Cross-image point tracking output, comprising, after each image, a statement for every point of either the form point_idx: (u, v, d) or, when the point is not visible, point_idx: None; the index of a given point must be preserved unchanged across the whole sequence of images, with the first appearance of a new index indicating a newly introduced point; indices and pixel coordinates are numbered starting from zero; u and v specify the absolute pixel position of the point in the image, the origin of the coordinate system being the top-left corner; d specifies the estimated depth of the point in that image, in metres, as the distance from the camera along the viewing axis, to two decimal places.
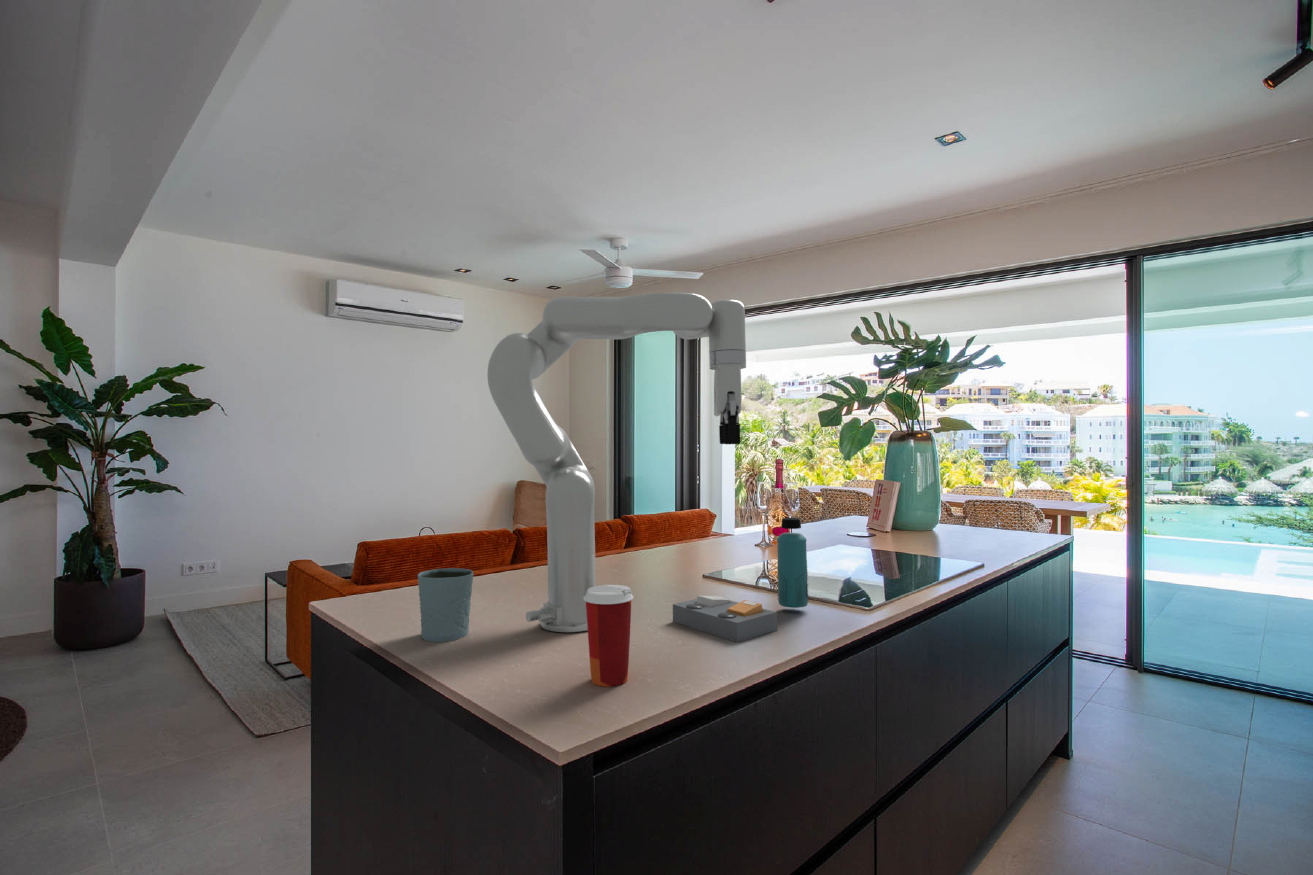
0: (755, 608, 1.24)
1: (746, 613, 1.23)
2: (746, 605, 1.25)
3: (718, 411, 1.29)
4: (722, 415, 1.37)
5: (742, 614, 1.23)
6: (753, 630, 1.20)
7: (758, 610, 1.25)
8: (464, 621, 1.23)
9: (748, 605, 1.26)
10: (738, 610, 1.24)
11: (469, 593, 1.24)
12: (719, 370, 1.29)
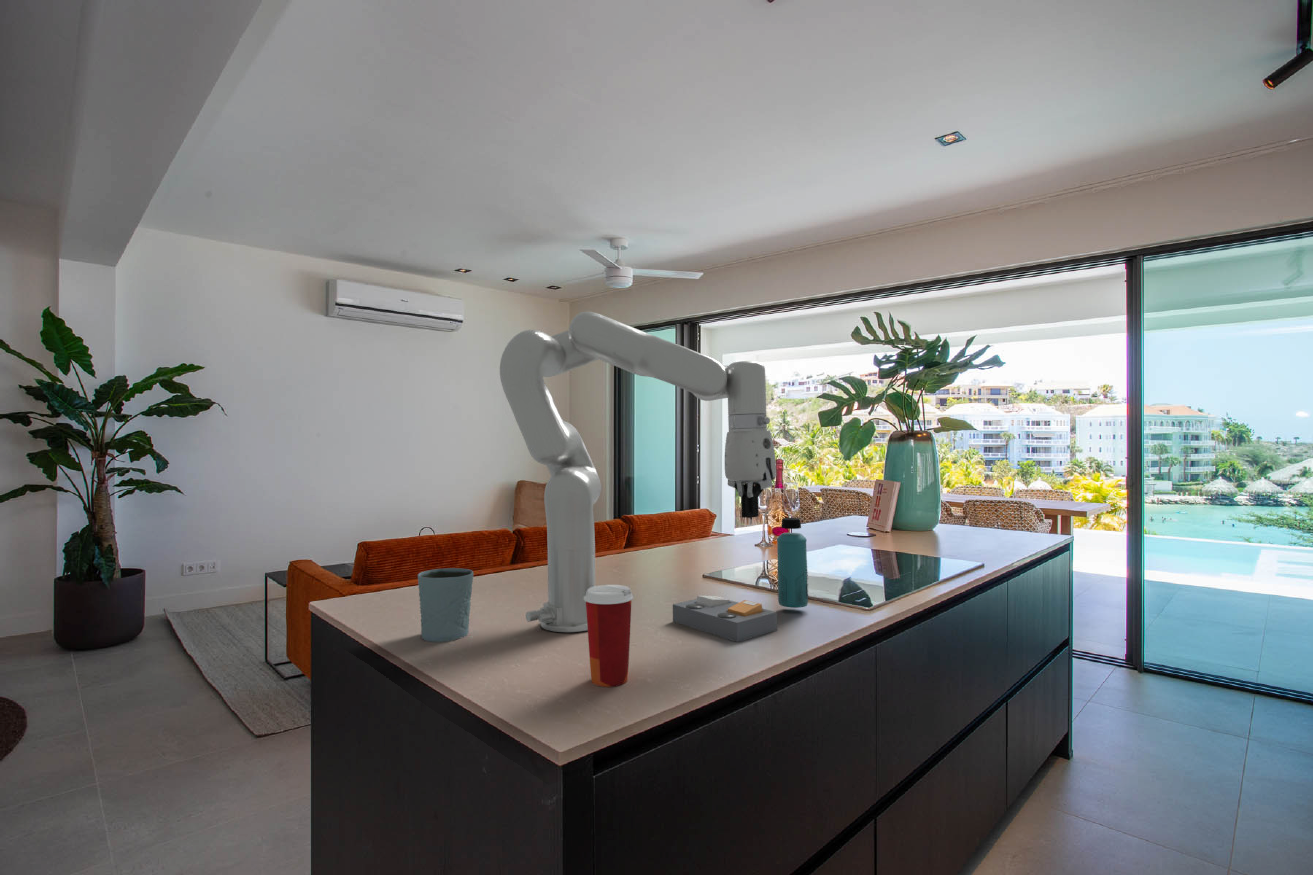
0: (755, 608, 1.24)
1: (746, 613, 1.23)
2: (746, 605, 1.25)
3: None
4: None
5: (742, 614, 1.23)
6: (753, 630, 1.20)
7: (758, 610, 1.25)
8: (464, 621, 1.23)
9: (748, 605, 1.26)
10: (738, 610, 1.24)
11: (469, 593, 1.24)
12: None
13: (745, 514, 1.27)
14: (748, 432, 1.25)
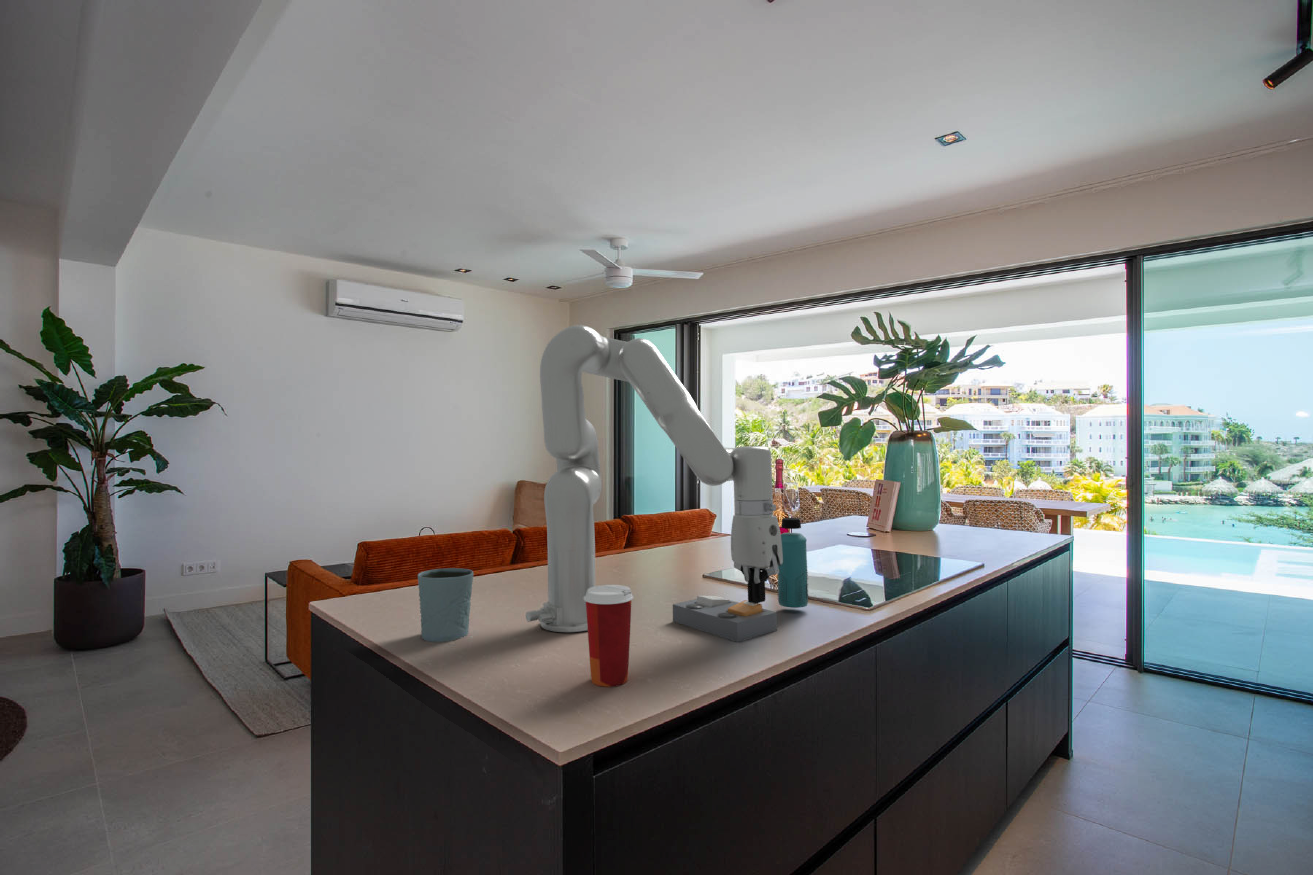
0: (755, 608, 1.24)
1: (746, 613, 1.23)
2: (746, 606, 1.25)
3: None
4: None
5: (742, 614, 1.23)
6: (753, 630, 1.20)
7: (758, 610, 1.25)
8: (464, 621, 1.23)
9: (748, 605, 1.26)
10: (738, 610, 1.24)
11: (469, 593, 1.24)
12: None
13: (752, 600, 1.26)
14: (754, 519, 1.24)
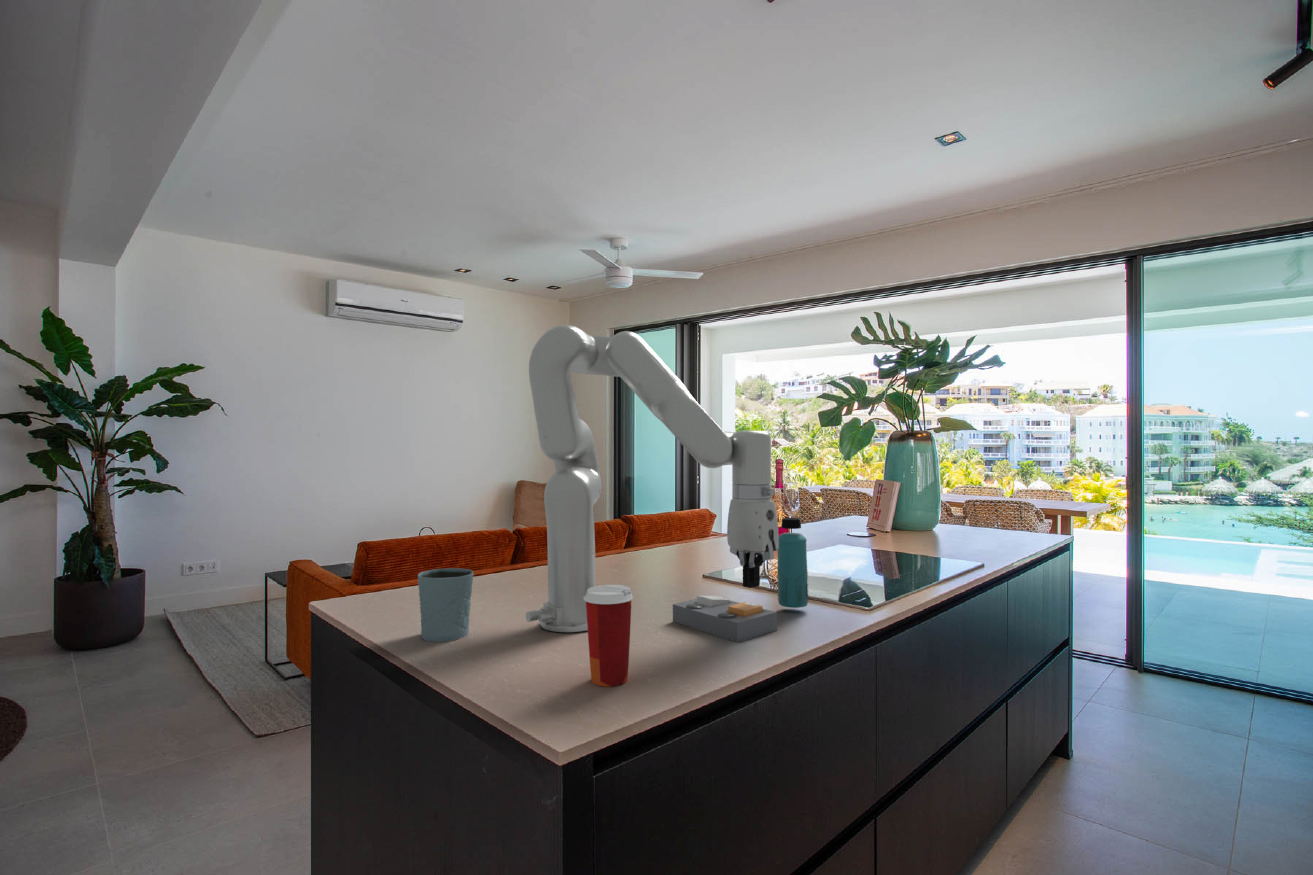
0: (756, 608, 1.24)
1: (747, 612, 1.23)
2: (747, 606, 1.26)
3: None
4: None
5: (742, 612, 1.23)
6: (753, 630, 1.20)
7: (758, 611, 1.25)
8: (464, 621, 1.23)
9: (749, 605, 1.26)
10: (738, 608, 1.24)
11: (469, 593, 1.24)
12: None
13: (746, 584, 1.26)
14: (752, 503, 1.24)
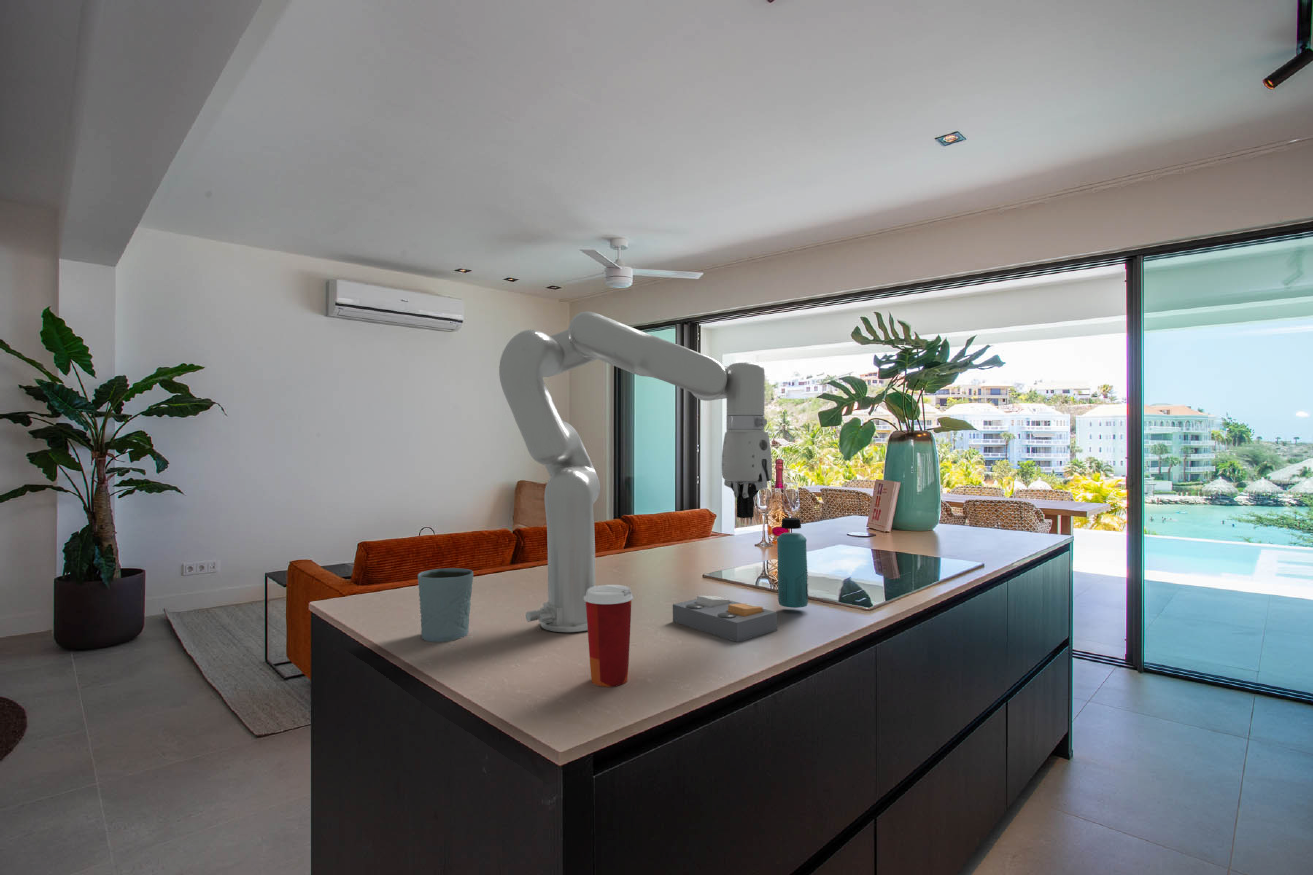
0: (756, 608, 1.24)
1: (747, 610, 1.23)
2: (747, 606, 1.26)
3: None
4: None
5: (742, 610, 1.23)
6: (753, 630, 1.20)
7: (758, 612, 1.25)
8: (464, 621, 1.23)
9: (749, 605, 1.26)
10: (738, 606, 1.24)
11: (469, 593, 1.24)
12: None
13: (740, 514, 1.27)
14: (745, 433, 1.25)
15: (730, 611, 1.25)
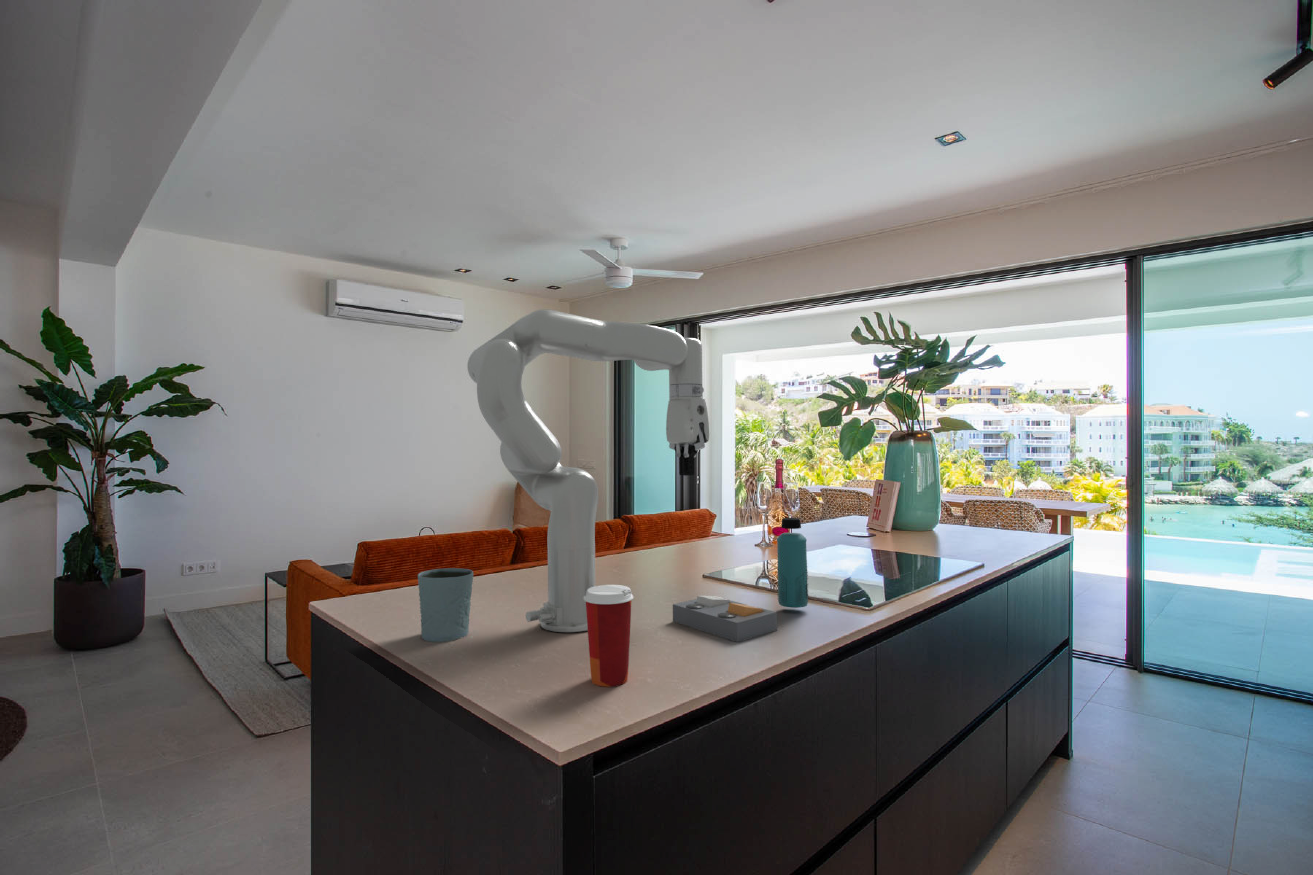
0: (756, 609, 1.24)
1: (747, 609, 1.23)
2: (748, 606, 1.26)
3: None
4: None
5: (743, 608, 1.23)
6: (753, 630, 1.20)
7: None
8: (464, 621, 1.23)
9: (749, 606, 1.26)
10: (739, 605, 1.24)
11: (469, 593, 1.24)
12: None
13: (682, 472, 1.44)
14: (685, 400, 1.42)
15: (730, 609, 1.25)
